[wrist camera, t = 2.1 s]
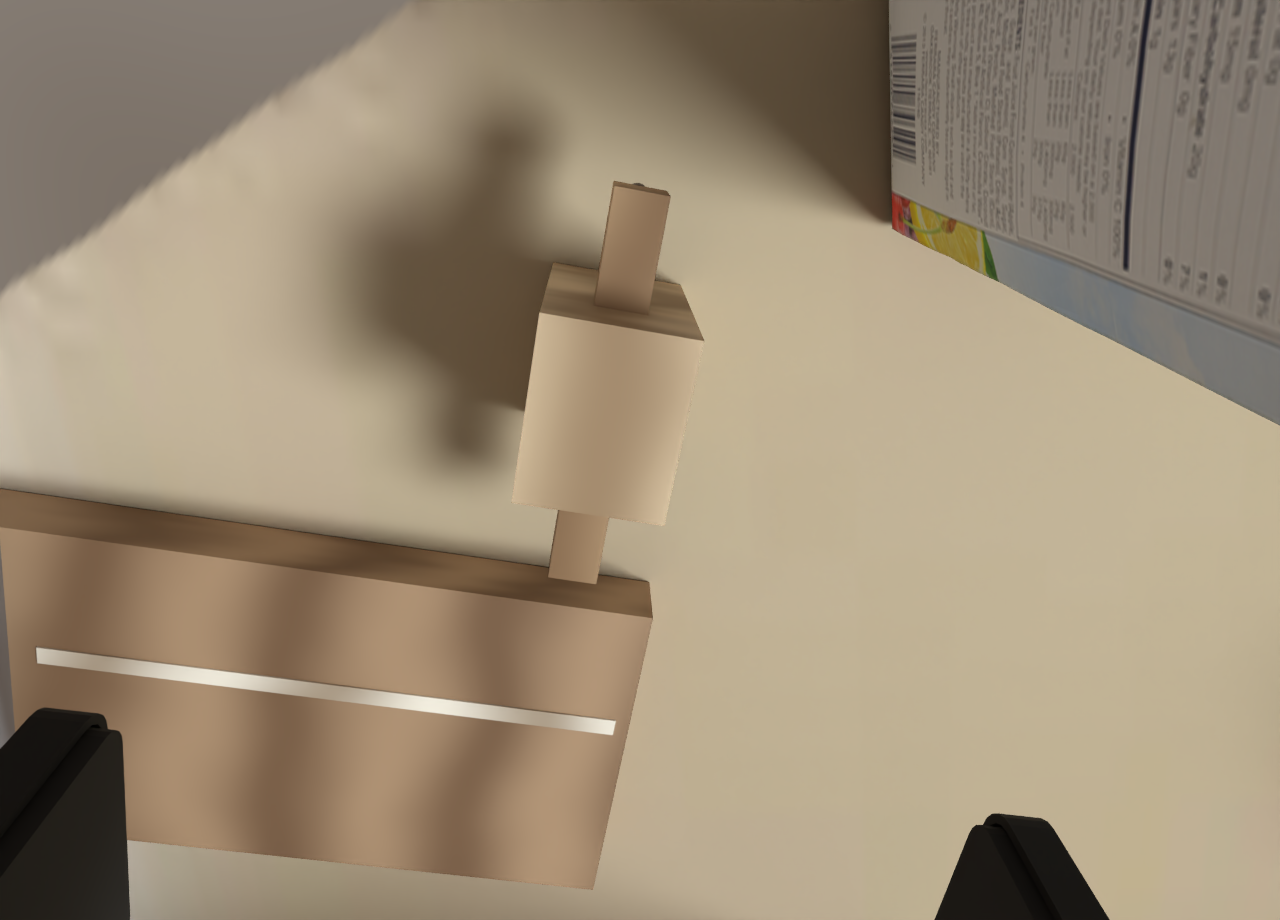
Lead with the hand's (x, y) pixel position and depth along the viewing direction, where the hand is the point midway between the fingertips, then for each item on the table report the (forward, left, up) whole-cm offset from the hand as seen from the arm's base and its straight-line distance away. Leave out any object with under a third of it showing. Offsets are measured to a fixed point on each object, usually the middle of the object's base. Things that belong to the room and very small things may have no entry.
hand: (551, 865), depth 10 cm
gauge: (-1, 0, -21) cm, 21 cm away
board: (+7, +14, -21) cm, 26 cm away
